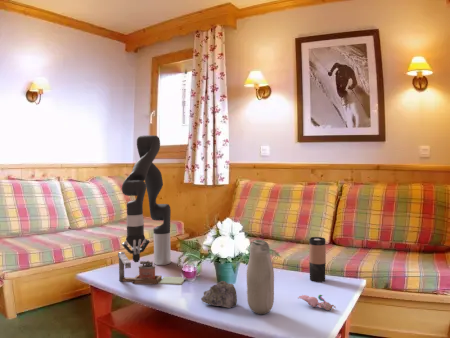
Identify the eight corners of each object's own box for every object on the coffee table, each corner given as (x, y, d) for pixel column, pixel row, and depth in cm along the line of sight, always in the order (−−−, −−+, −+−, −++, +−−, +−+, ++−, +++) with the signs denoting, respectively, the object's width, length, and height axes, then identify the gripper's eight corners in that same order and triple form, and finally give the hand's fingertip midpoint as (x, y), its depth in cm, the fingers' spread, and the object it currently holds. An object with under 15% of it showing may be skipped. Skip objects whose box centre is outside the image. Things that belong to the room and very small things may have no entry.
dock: (122, 278, 202) (122, 255, 201) (161, 279, 199) (161, 256, 198) (116, 282, 195) (115, 259, 195) (156, 284, 192) (156, 260, 191)
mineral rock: (200, 304, 166) (199, 280, 166) (218, 297, 174) (218, 274, 173) (222, 312, 157) (222, 287, 157) (241, 305, 165) (240, 280, 164)
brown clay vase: (278, 311, 158) (278, 239, 156) (262, 319, 150) (262, 244, 149) (258, 305, 164) (257, 236, 163) (242, 313, 156) (241, 240, 155)
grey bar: (124, 256, 200) (124, 251, 200) (131, 267, 181) (131, 261, 181) (117, 257, 199) (117, 252, 199) (124, 268, 180) (124, 262, 180)
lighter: (156, 280, 197) (156, 260, 197) (154, 282, 194) (154, 262, 194) (140, 280, 198) (139, 259, 198) (138, 282, 195) (137, 261, 194)
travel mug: (328, 281, 193) (328, 239, 192) (315, 283, 190) (315, 240, 189) (319, 276, 200) (319, 236, 199) (306, 278, 197) (306, 237, 197)
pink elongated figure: (336, 311, 160) (300, 298, 168) (338, 297, 160) (302, 285, 167) (331, 317, 155) (294, 303, 163) (333, 302, 154) (296, 289, 162)
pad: (164, 277, 201) (164, 276, 201) (186, 278, 200) (186, 277, 200) (158, 283, 193) (158, 282, 193) (181, 284, 191) (181, 283, 191)
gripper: (146, 221, 191) (147, 257, 192) (118, 224, 184) (119, 262, 185) (152, 223, 184) (153, 261, 185) (123, 227, 177) (124, 266, 178)
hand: (136, 261), depth 185 cm, fingers closed
